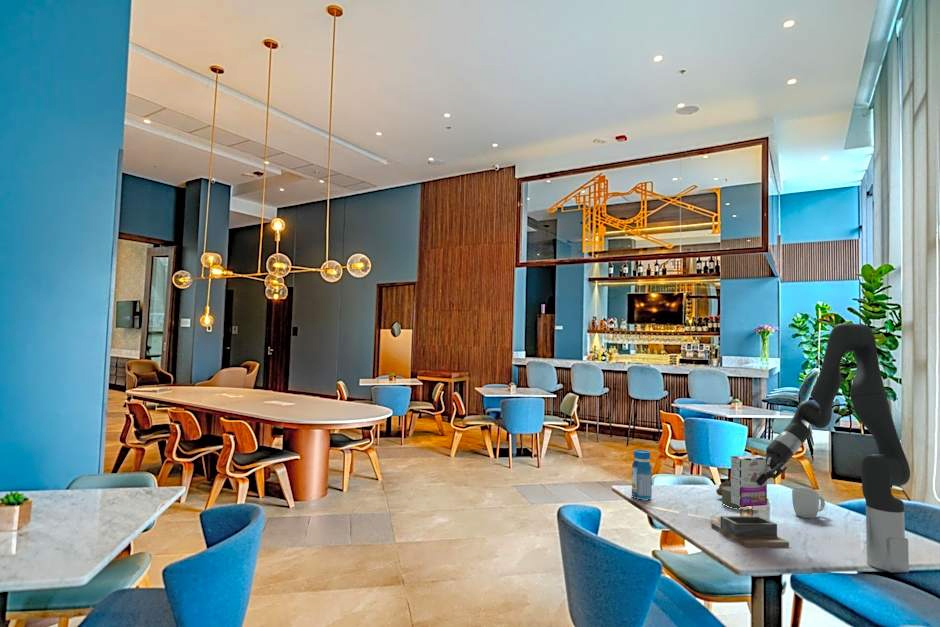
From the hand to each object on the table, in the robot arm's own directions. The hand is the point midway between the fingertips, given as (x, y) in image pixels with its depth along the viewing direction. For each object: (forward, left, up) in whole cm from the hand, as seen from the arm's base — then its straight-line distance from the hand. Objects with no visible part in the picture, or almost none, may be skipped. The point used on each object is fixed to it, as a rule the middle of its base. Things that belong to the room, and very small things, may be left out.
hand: (752, 481), depth 186 cm
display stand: (0, +2, -19) cm, 19 cm away
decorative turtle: (+47, -24, -19) cm, 56 cm away
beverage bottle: (+48, +18, -19) cm, 55 cm away
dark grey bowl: (+36, -19, -19) cm, 45 cm away
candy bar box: (0, +2, -8) cm, 8 cm away
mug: (+22, -40, -19) cm, 50 cm away
